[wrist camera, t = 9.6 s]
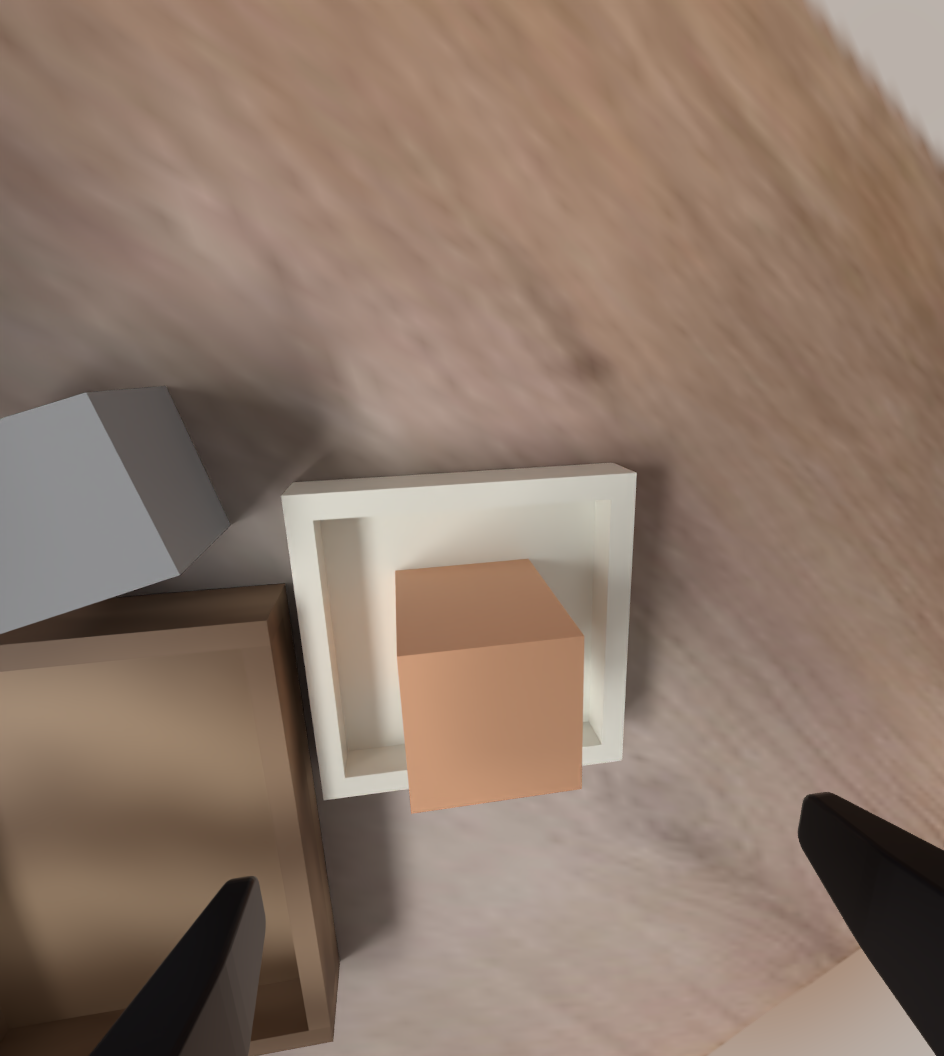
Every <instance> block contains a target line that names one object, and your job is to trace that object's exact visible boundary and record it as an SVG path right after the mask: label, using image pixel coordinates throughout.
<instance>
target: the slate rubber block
mask: <svg viewBox="0 0 944 1056" xmlns="http://www.w3.org/2000/svg"><path fill="white" fill-rule="evenodd" d="M229 526H230V523H229V521H228V518H227V516H226V514H225V512H224V510H223V508H222V506H221V503H220V501H219V499H218V497H217V495H216V493H215V491H214V488H213V486H212V484H211V482H210V480H209V478H208V475H207V473H206V471H205V469H204V467H203V465H202V463H201V460H200V458H199V456H198V454H197V452H196V450H195V448H194V445H193V443H192V441H191V439H190V437H189V435H188V432H187V430H186V428H185V426H184V424H183V422H182V420H181V417H180V415H179V413H178V411H177V409H176V407H175V405H174V402H173V400H172V398H171V396H170V394H169V392H168V389H167V387H166V386H159V387H146V388H134V389H121V390H109V391H96V392H85V393H82V394H79V395H76V396H73V397H69V398H66V399H63V400H60V401H56V402H53V403H50V404H47V405H43V406H40V407H37V408H34V409H30V410H27V411H24V412H21V413H17V414H14V415H11V416H8V417H4V418H1V419H0V634H2V633H5V632H8V631H11V630H14V629H17V628H20V627H23V626H27V625H30V624H33V623H36V622H39V621H42V620H45V619H48V618H51V617H54V616H57V615H60V614H63V613H66V612H69V611H72V610H75V609H78V608H81V607H84V606H87V605H90V604H94V603H97V602H100V601H103V600H106V599H109V598H112V597H115V596H118V595H121V594H124V593H127V592H130V591H133V590H136V589H139V588H142V587H145V586H148V585H151V584H154V583H157V582H161V581H164V580H167V579H170V578H173V577H176V576H179V575H181V574H182V573H183V572H184V571H185V570H186V569H187V568H188V567H189V566H190V565H191V564H192V563H193V562H194V561H195V560H196V559H197V558H198V557H199V556H200V555H201V554H202V553H203V552H204V551H205V550H206V549H207V548H208V547H209V546H210V545H211V544H212V543H213V542H214V541H215V540H216V539H217V538H218V537H219V536H220V535H221V534H222V533H223V532H224V531H225V530H226V529H227V528H228V527H229Z"/></svg>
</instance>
